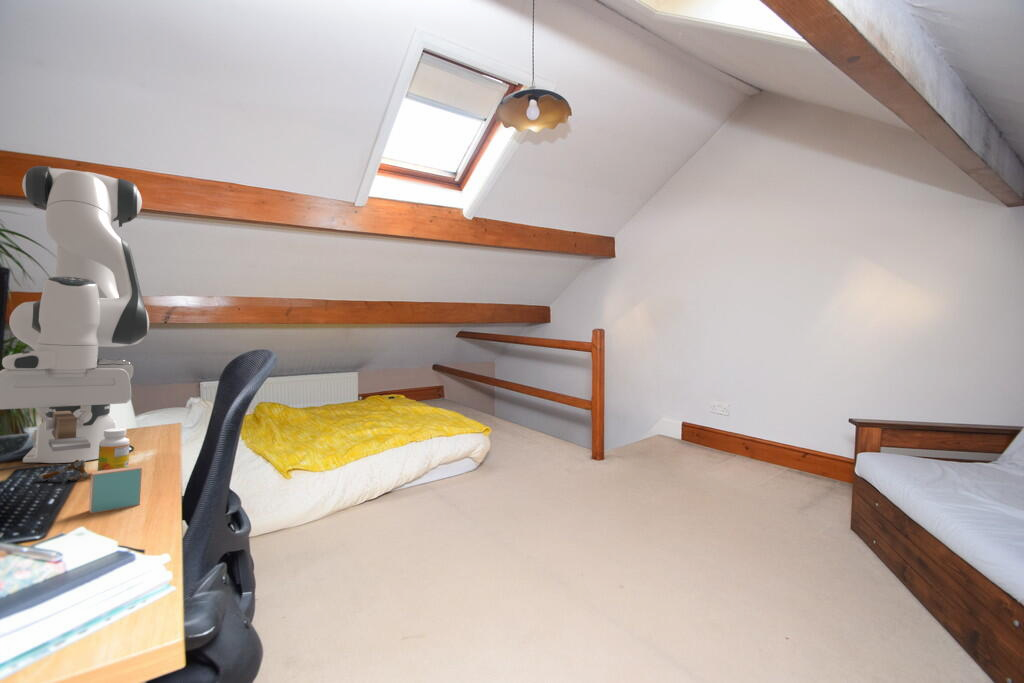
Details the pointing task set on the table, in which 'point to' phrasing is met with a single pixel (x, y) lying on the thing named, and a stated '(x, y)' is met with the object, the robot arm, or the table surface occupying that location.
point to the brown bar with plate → (66, 433)
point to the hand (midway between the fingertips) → (63, 428)
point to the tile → (115, 489)
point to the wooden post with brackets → (67, 468)
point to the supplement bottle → (113, 450)
